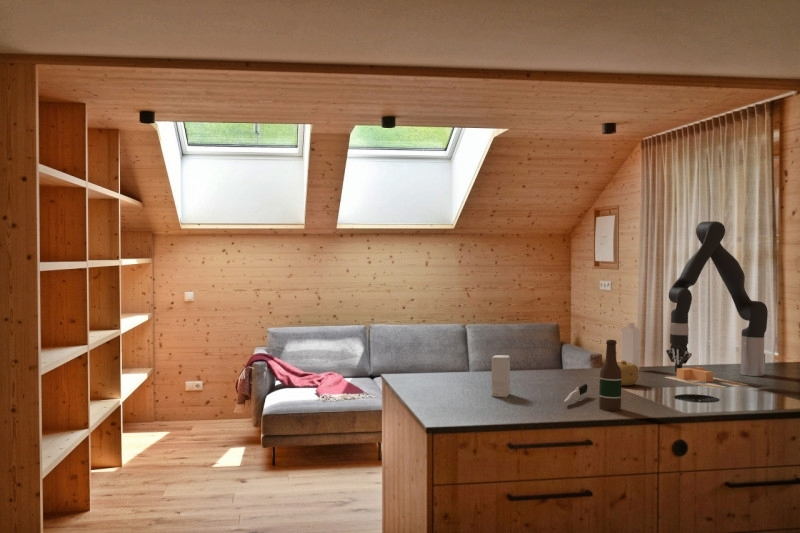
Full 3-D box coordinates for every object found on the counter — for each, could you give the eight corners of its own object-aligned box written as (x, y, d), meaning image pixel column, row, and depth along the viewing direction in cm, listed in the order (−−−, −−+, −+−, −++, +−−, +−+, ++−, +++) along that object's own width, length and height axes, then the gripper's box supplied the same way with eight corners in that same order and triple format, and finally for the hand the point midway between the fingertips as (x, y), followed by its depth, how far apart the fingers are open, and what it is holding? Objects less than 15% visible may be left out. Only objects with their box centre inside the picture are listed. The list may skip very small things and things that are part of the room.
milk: (639, 371, 332) (640, 323, 331) (632, 372, 328) (634, 323, 327) (627, 369, 336) (628, 321, 336) (620, 370, 332) (621, 322, 331)
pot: (626, 381, 304) (627, 357, 304) (644, 386, 293) (644, 362, 293) (602, 382, 301) (603, 358, 301) (619, 388, 290) (619, 363, 289)
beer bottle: (595, 406, 255) (596, 338, 254) (616, 406, 255) (617, 338, 255) (603, 411, 247) (604, 341, 246) (625, 411, 248) (626, 341, 247)
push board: (698, 376, 318) (698, 374, 318) (748, 387, 295) (749, 384, 295) (664, 379, 310) (664, 377, 310) (713, 390, 286) (713, 388, 286)
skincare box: (506, 397, 268) (507, 357, 267) (490, 396, 270) (491, 356, 269) (510, 393, 276) (511, 354, 275) (494, 392, 278) (495, 353, 277)
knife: (565, 408, 251) (566, 394, 251) (561, 407, 252) (561, 393, 252) (588, 396, 272) (588, 383, 272) (583, 395, 273) (583, 382, 273)
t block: (697, 376, 314) (697, 366, 314) (719, 380, 303) (720, 371, 303) (676, 377, 309) (676, 368, 309) (698, 382, 298) (698, 373, 298)
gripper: (697, 334, 311) (696, 374, 311) (674, 331, 323) (673, 369, 323) (684, 335, 308) (683, 375, 308) (661, 331, 320) (660, 370, 320)
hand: (678, 372), depth 316 cm, fingers closed
